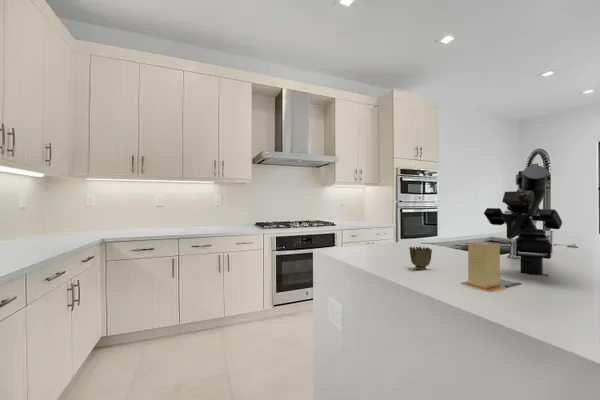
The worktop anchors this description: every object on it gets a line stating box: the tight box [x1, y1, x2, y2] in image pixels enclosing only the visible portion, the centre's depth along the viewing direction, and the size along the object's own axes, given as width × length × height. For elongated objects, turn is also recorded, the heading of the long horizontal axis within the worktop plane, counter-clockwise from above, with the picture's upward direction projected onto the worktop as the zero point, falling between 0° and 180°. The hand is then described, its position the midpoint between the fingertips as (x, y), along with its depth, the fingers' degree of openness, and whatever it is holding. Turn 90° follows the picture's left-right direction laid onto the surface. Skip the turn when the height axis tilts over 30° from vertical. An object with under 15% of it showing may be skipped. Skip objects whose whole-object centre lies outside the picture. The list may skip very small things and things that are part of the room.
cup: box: [408, 246, 433, 272], centre depth 100 cm, size 8×7×8 cm
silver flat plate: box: [460, 278, 523, 293], centre depth 80 cm, size 15×8×1 cm, turn 115°
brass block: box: [467, 240, 501, 289], centre depth 78 cm, size 6×5×12 cm
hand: (508, 238), depth 83 cm, fingers closed
